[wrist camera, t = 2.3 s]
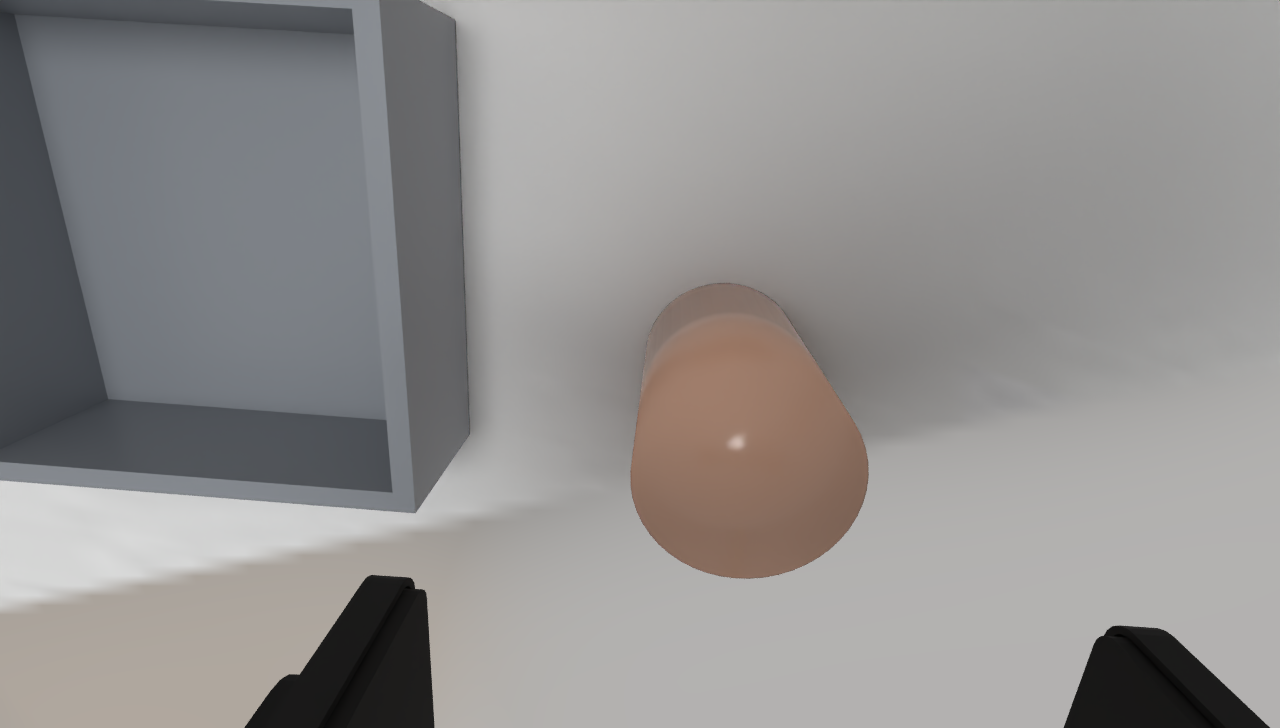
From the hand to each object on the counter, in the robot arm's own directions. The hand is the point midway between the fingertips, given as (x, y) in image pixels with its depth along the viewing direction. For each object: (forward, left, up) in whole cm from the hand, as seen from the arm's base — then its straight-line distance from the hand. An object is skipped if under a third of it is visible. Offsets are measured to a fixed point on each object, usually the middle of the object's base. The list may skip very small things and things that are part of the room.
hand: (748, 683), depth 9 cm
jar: (-1, 0, -13) cm, 13 cm away
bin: (+14, -3, -13) cm, 20 cm away
